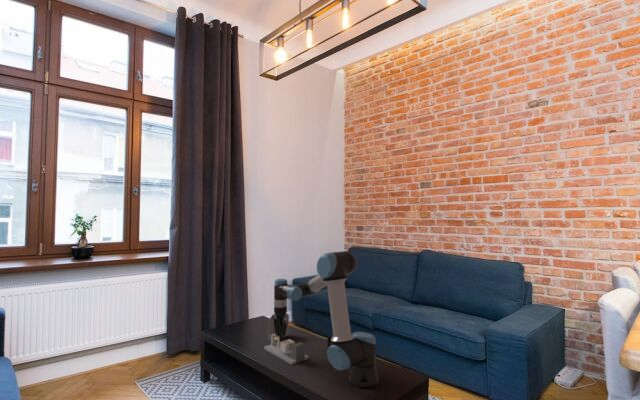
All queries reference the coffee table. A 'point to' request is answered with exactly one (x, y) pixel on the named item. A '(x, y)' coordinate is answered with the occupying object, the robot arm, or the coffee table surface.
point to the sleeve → (286, 345)
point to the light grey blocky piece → (291, 356)
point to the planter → (272, 330)
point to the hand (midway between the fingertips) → (280, 346)
